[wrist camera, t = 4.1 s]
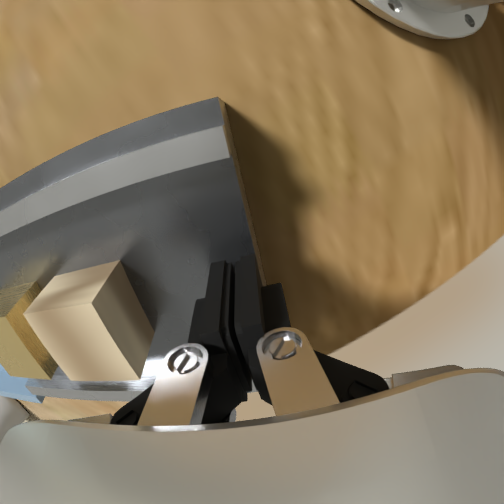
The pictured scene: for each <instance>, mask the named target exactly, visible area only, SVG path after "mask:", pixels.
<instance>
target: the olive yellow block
mask: <svg viewBox="0 0 504 504" xmlns="http://www.w3.org/2000/svg"><path fill="white" fill-rule="evenodd" d="M40 293H41V289H40V288H39V286H38V284H37V282H36V281H34V282H30V283H26V284H23V285H19V286H15V287H11V288H7V289H4V290H0V364H1V365H2V366H3V368H4V369H5V370H6V371H7V373H8V374H9V375H10V376H13V377H22V378H34V379H47V380H51V379H52V377H53V375H54V373H55V371H56V369H57V367H58V364H57V363H56V361H55V360H54V359H53V357H52V356H51V355H50V353H49V352H48V350H47V349H46V348H45V346H44V345H43V344H42V342H41V341H40V339H39V338H38V336H37V335H36V333H35V332H34V330H33V329H32V327H31V326H30V324H29V323H28V321H27V320H26V318H25V316H24V315H23V313H24V312H25V311H26V310H27V308H28V307H29V306H30V305H31V303H32V302H33V301H34V300H35V299H36V297H37V296H38V295H39V294H40Z"/></svg>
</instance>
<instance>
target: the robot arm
mask: <svg viewBox="0 0 504 504" xmlns="http://www.w3.org/2000/svg"><path fill="white" fill-rule="evenodd" d="M355 1H357V2H358V3H359V4H361V5H362V6H364V7H365V8H367V9H368V10H370V11H372V12H373V13H375V14H376V15H377V16H379V17H381V18H383V19H385V20H387V21H389V22H390V23H392V24H394V25H396V26H398V27H400V28H402V29H405V30H408V31H410V32H412V33H415V34H417V35H421V36H425V37H429V38H433V39H448V40H449V39H455V38H462V37H466V36H469V35H471V34H474V33H475V32H476V31H478V30H479V29H480V28H481V27H482V25H483V24H484V22H485V20H486V18H487V13H488V9H489V4H493V3H498V2H504V0H355ZM252 380H253V383H254V386H255V388H256V390H257V391H258V392H259V394H260V397H261V399H263V400H264V401H266V402H267V403H269V404H271V405H272V406H273V408H274V411H275V414H276V416H274V417H268V418H261V419H253V420H246V421H237V422H235V420H236V410H235V408H236V407H237V406H238V405H239V404H240V403H241V402H244V401H247V392H252ZM0 504H504V372H503V371H500V370H497V369H491V368H473V369H463V368H462V367H459V366H456V365H447V366H442V367H436V368H430V369H424V370H418V371H412V372H405V373H397V374H392V378H384V379H383V378H382V377H380V376H378V375H377V374H375V373H372V372H369V371H366V370H364V369H361V368H358V367H356V366H353V365H350V364H348V363H345V362H342V361H340V360H337V359H335V358H332V357H330V356H327V355H325V354H322V353H320V352H317V351H315V350H313V349H312V347H311V345H310V343H309V341H308V339H307V337H306V336H305V334H304V333H303V332H302V331H300V330H298V329H295V328H291V325H290V321H289V316H288V312H287V307H286V303H285V298H284V294H283V289H282V285H281V283H277V284H272V285H268V286H262V282H261V278H260V274H259V269H258V265H257V261H256V257H255V254H251V255H246V256H241V257H240V261H236V262H235V272H234V268H233V265H232V263H227V262H226V260H222V261H217V262H213V263H211V265H210V271H209V276H208V282H207V288H206V295H205V298H201V299H197V300H196V302H195V306H194V311H193V316H192V321H191V327H190V332H189V337H188V343H187V344H183V345H180V346H177V347H176V348H174V349H173V350H171V351H170V352H169V353H168V354H167V355H166V357H165V359H164V360H163V363H162V365H161V368H160V370H159V372H158V375H157V377H156V380H155V382H154V384H153V385H151V386H150V387H149V388H147V389H146V390H145V391H143V392H142V393H141V394H139V395H138V396H137V397H135V398H134V399H133V400H131V401H130V402H129V403H127V404H126V405H125V406H123V407H122V408H120V409H119V410H118V411H117V412H116V413H115V414H114V416H112V415H111V414H105V415H99V416H93V417H87V418H80V419H73V420H68V421H63V420H37V421H29V422H25V423H22V424H19V425H16V426H14V427H13V428H11V429H10V430H8V431H7V433H6V434H5V436H4V437H3V439H2V441H1V443H0Z"/></svg>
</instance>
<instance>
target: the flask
mask: <svg viewBox="0 0 504 504" xmlns="http://www.w3.org/2000/svg"><path fill="white" fill-rule="evenodd" d="M28 417H29V414H28V413H27V411H26V410H25V409H24V408H23V407H22V406H21V405H20V404H19V402H17V401H16V400H15V399H13V398H9V397H4V396H0V443H1V441H2V439H3V437H4V436H5V434H6V433H7V431H8V430H10V429H11V428H13V427H14V426H16V425H19V424H21V423H23V422H24V421H25V420H26V419H27V418H28Z"/></svg>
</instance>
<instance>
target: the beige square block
mask: <svg viewBox="0 0 504 504" xmlns="http://www.w3.org/2000/svg"><path fill="white" fill-rule="evenodd" d="M23 315H24V316H25V318H26V320H27V321H28V323H29V324H30V326H31V327H32V329H33V330H34V332H35V333H36V335H37V336H38V338H39V339H40V341H41V342H42V344H43V345H44V346H45V348H46V349H47V350H48V352H49V353H50V355H51V356H52V357H53V359H54V360H55V361H56V363H57V364H58V365H59V366H60V368H61V369H62V370H63V371H64V373H65V374H66V375H67V376H68V378H69V379H70V380H71V381H130V380H140V379H141V376H142V372H143V369H144V366H145V362H146V359H147V356H148V352H149V349H150V346H151V343H152V339H153V336H154V333H155V332H154V330H153V328H152V326H151V324H150V322H149V320H148V318H147V316H146V314H145V313H144V311H143V309H142V307H141V305H140V303H139V300H138V298H137V296H136V294H135V292H134V290H133V288H132V286H131V284H130V282H129V279H128V277H127V275H126V273H125V271H124V268H123V266H122V264H121V262H120V260H118V261H114V262H110V263H106V264H102V265H98V266H94V267H89V268H85V269H81V270H77V271H73V272H69V273H65V274H61V275H57V276H54V277H53V279H52V280H51V281H50V282H49V283H48V284H47V285H46V287H45V288H44V289H43V290H42V291H41V293H40V294H39V295H38V296H37V297H36V299H35V300H34V301H33V302H32V303H31V305H30V306H29V307H28V308H27V310H26V311H25V312H24V313H23Z"/></svg>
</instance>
